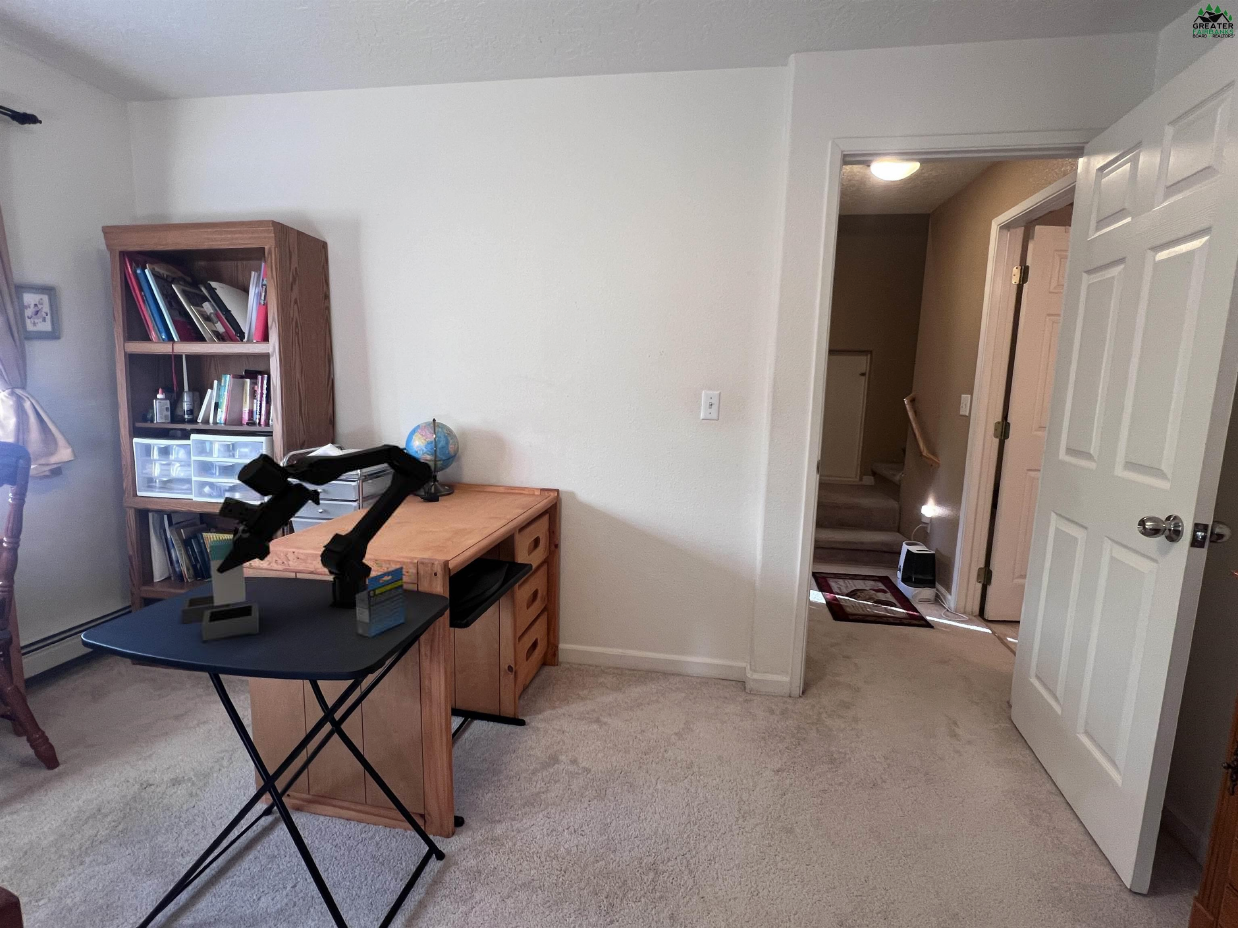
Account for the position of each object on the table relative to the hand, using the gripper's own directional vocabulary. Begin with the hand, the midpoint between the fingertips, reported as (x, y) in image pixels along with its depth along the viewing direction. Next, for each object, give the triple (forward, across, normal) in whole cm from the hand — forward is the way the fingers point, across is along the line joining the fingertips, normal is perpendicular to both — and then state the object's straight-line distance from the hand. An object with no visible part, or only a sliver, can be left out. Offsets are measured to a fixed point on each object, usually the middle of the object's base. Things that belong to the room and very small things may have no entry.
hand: (219, 568), depth 113 cm
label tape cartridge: (-10, +13, +29) cm, 33 cm away
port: (+8, 0, +10) cm, 13 cm away
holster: (+12, -12, +7) cm, 18 cm away
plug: (+4, 0, +6) cm, 7 cm away
